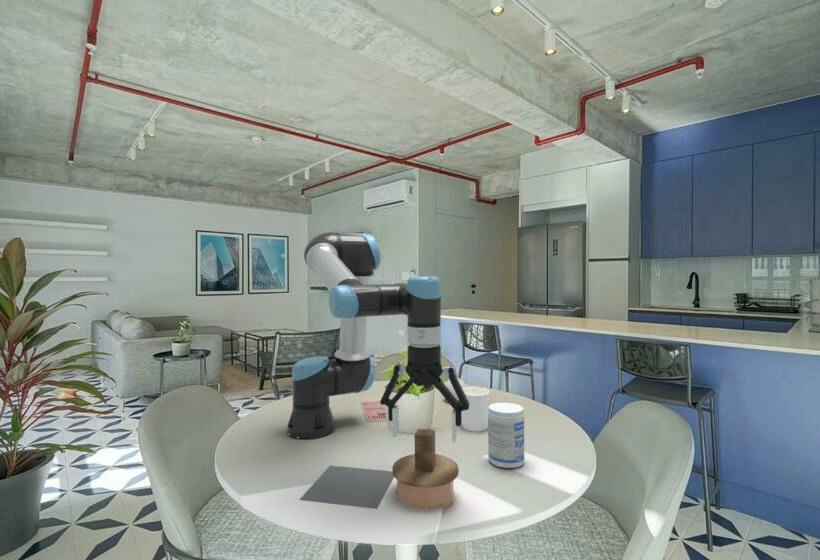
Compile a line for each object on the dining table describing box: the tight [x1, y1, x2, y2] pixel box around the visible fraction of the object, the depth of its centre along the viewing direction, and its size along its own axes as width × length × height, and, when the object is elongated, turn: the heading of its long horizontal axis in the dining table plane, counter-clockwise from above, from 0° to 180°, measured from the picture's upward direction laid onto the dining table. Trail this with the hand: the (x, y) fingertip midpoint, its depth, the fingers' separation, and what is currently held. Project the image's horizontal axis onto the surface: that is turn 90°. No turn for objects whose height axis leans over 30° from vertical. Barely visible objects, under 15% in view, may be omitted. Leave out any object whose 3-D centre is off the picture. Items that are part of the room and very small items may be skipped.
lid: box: [391, 428, 460, 487], centre depth 96 cm, size 15×15×9 cm
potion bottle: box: [444, 377, 483, 403], centre depth 167 cm, size 9×10×15 cm
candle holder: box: [461, 386, 490, 433], centre depth 139 cm, size 10×10×12 cm
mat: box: [299, 465, 395, 510], centre depth 100 cm, size 18×17×1 cm
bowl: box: [396, 479, 454, 510], centre depth 96 cm, size 12×12×6 cm
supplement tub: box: [487, 402, 525, 469], centre depth 114 cm, size 10×10×15 cm
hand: (424, 437), depth 96 cm, fingers open, 13 cm apart
